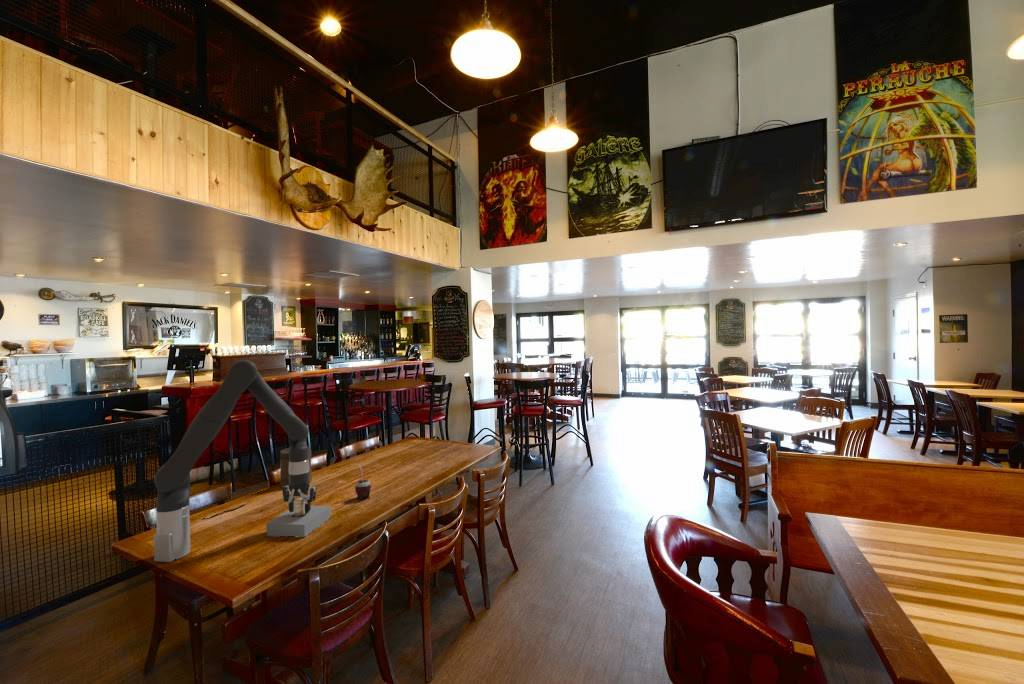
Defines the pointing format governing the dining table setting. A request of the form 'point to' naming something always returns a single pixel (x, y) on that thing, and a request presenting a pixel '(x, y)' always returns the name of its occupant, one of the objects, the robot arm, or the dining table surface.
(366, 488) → the mate gourd
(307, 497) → the robot arm
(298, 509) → the peg
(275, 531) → the socket block
